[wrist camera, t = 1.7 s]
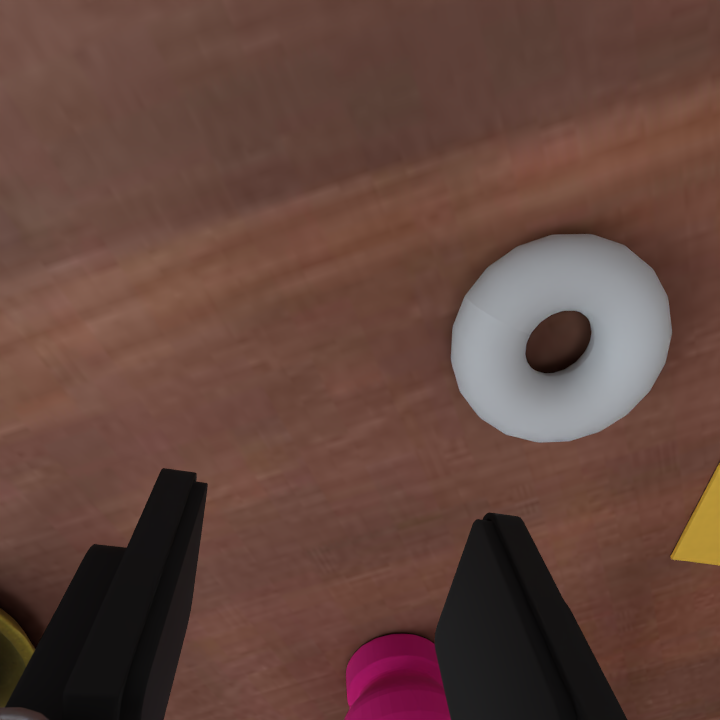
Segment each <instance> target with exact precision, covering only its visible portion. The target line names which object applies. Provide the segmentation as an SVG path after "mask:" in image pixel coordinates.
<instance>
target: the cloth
mask: <svg viewBox="0 0 720 720" xmlns="http://www.w3.org/2000/svg"><path fill="white" fill-rule="evenodd" d="M670 557H671V559H674V560H682V561H690V562H698V563H705V564H713V565H720V463H719V465H718V467H717V468H716V470H715V472H714V474H713V476H712V478H711V480H710V482H709V484H708V486H707V488H706V490H705V491H704V493H703V495H702V497H701V499H700V501H699V503H698V505H697V507H696V509H695V511H694V512H693V514H692V516H691V518H690V520H689V522H688V524H687V526H686V528H685V530H684V532H683V534H682V535H681V537H680V539H679V541H678V543H677V545H676V547H675V549H674V551H673V553H672V555H671V556H670Z"/></svg>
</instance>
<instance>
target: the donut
mask: <svg viewBox="0 0 720 720" xmlns="http://www.w3.org/2000/svg"><path fill="white" fill-rule="evenodd" d="M561 311H578V312H581V313H582V314H583V315H585V316H586V317H587V318H588V320H589V321H590V326H591V331H592V333H591V339H590V342H589V344H588V346H587V348H586V350H585V352H584V353H583V354H582V356H581V357H580V358H579V359H578V360H577V361H576V362H575V363H573V364H572V365H570V366H569V367H567V368H566V369H564V370H561V371H558V372H555V373H542V372H538V371H535V370H534V369H532V368H531V367H530V365H529V364H528V363H527V360H526V355H525V352H526V344H527V341H528V339H529V337H530V334H531V333H532V331H533V330H534V329H535V328H536V327H537V326H538V324H539V323H540V322H541V321H543V320H544V319H546V318H547V317H549V316H550V315H552V314H555V313H558V312H561ZM671 335H672V327H671V318H670V310H669V301H668V296H667V294H666V292H665V291H664V289H663V287H662V285H661V283H660V281H659V279H658V277H657V275H656V273H655V272H654V270H653V269H652V268H651V267H650V266H649V265H648V264H646V263H645V262H644V261H643V260H642V259H640V258H639V257H638V256H637V255H636V254H634V253H633V252H632V251H631V250H630V249H629V248H627V247H626V246H625V245H623V244H620V243H617V242H614V241H611V240H608V239H605V238H602V237H599V236H596V235H593V234H557V235H549V236H546V237H543V238H540V239H537V240H534V241H531V242H529V243H526V244H523V245H520V246H517V247H516V248H514V249H513V250H511V251H510V252H509V253H507V254H506V255H504V256H503V257H502V258H500V259H499V260H497V261H496V262H494V263H493V264H492V265H490V266H489V267H487V269H486V270H485V271H484V272H483V274H482V275H481V276H480V277H479V279H478V280H477V281H476V282H475V284H474V285H473V286H472V287H471V289H470V290H469V291H468V293H467V294H466V295H465V297H464V300H463V302H462V305H461V307H460V310H459V312H458V315H457V317H456V320H455V322H454V325H453V330H452V347H451V363H452V366H453V370H454V373H455V376H456V380H457V383H458V387H459V390H460V392H461V394H462V395H463V396H464V398H465V399H466V400H467V402H468V403H469V404H470V406H471V407H472V408H473V410H474V411H475V412H476V414H477V415H478V416H479V417H480V418H481V419H483V420H484V421H486V422H487V423H489V424H490V425H492V426H493V427H495V428H497V429H498V430H500V431H501V432H503V433H504V434H506V435H510V436H514V437H518V438H522V439H526V440H530V441H534V442H562V441H572V440H575V439H578V438H581V437H584V436H587V435H591V434H594V433H597V432H600V431H601V430H603V429H605V428H606V427H608V426H609V425H611V424H613V423H614V422H616V421H618V420H619V419H621V418H622V417H624V416H626V415H627V414H628V413H629V412H630V411H631V410H632V409H633V408H634V407H635V406H636V405H637V404H638V403H639V402H640V401H641V400H642V399H643V398H644V397H645V396H646V394H647V393H648V392H649V391H650V390H651V388H652V386H653V384H654V383H655V381H656V379H657V377H658V375H659V374H660V372H661V370H662V368H663V366H664V365H665V362H666V358H667V353H668V349H669V344H670V340H671Z"/></svg>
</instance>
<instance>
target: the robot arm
mask: <svg viewBox="0 0 720 720" xmlns="http://www.w3.org/2000/svg"><path fill="white" fill-rule="evenodd" d="M196 478H197V474H196V473H194V472H187V471H179V470H172V469H165V468H163V469H162V470H161V472H160V474H159V476H158V478H157V481H156V483H155V485H154V488H153V490H152V492H151V494H150V497H149V499H148V501H147V503H146V506H145V508H144V510H143V512H142V515H141V517H140V519H139V521H138V524H137V526H136V528H135V530H134V533H133V535H132V537H131V540H130V542H129V544H128V546H127V548H123V547H115V546H106V545H97V544H94V545H93V546H91V547H90V549H89V550H88V552H87V553H86V555H85V557H84V559H83V560H82V562H81V564H80V566H79V568H78V570H77V572H76V574H75V576H74V577H73V579H72V581H71V583H70V585H69V587H68V589H67V591H66V593H65V594H64V596H63V598H62V600H61V602H60V604H59V606H58V608H57V610H56V611H55V613H54V615H53V617H52V619H51V621H50V623H49V625H48V626H47V628H46V630H45V632H44V634H43V636H42V638H41V640H40V642H39V643H38V645H37V647H36V649H35V651H34V653H33V655H32V657H31V659H30V660H29V662H28V664H27V666H26V668H25V670H24V672H23V674H22V676H21V677H20V679H19V681H18V683H17V685H16V687H15V689H14V691H13V693H12V694H11V696H10V698H9V700H8V702H7V704H6V706H5V707H0V720H163V719H164V716H165V712H166V708H167V704H168V700H169V696H170V692H171V688H172V684H173V680H174V676H175V672H176V668H177V664H178V661H179V657H180V653H181V649H182V645H183V641H184V637H185V633H186V629H187V625H188V621H189V616H190V611H191V605H192V598H193V591H194V583H195V576H196V568H197V561H198V554H199V546H200V539H201V531H202V524H203V517H204V509H205V502H206V494H207V485H208V484H207V483H202V482H196ZM435 650H436V655H437V660H438V664H439V669H440V673H441V678H442V682H443V687H444V691H445V695H446V700H447V704H448V709H449V713H450V718H451V720H627V718H626V716H625V714H624V712H623V710H622V708H621V707H620V705H619V703H618V701H617V699H616V697H615V695H614V693H613V691H612V689H611V687H610V685H609V683H608V681H607V679H606V678H605V676H604V674H603V672H602V670H601V668H600V666H599V664H598V662H597V660H596V658H595V656H594V654H593V652H592V651H591V649H590V647H589V645H588V643H587V641H586V639H585V637H584V635H583V633H582V631H581V629H580V627H579V625H578V624H577V622H576V620H575V618H574V616H573V614H572V612H571V610H570V608H569V607H568V605H567V604H566V603H565V601H564V600H563V598H562V596H561V594H560V592H559V590H558V588H557V586H556V584H555V582H554V580H553V578H552V576H551V574H550V572H549V571H548V569H547V567H546V565H545V563H544V561H543V559H542V557H541V555H540V553H539V551H538V549H537V547H536V545H535V543H534V541H533V539H532V537H531V536H530V534H529V532H528V530H527V528H526V526H525V524H524V522H523V521H522V519H521V518H520V517H518V516H511V515H503V514H496V513H487V514H486V515H485V516H484V518H483V520H479V519H478V520H476V521H475V522H474V523H473V525H472V528H471V531H470V534H469V537H468V539H467V542H466V545H465V548H464V551H463V554H462V557H461V559H460V562H459V565H458V568H457V571H456V574H455V576H454V579H453V582H452V585H451V588H450V591H449V594H448V596H447V599H446V602H445V605H444V608H443V611H442V613H441V616H440V619H439V622H438V625H437V628H436V632H435Z"/></svg>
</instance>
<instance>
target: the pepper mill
mask: <svg viewBox="0 0 720 720" xmlns="http://www.w3.org/2000/svg"><path fill="white" fill-rule="evenodd" d="M346 685H347V700H348V704H349V707H350V709H349V711H348V713H347V715H346V717H345V719H344V720H451V718H450V713H449V709H448V704H447V700H446V695H445V691H444V687H443V682H442V678H441V673H440V669H439V664H438V660H437V655H436V650H435V644H434V643H432V642H431V641H429V640H428V639H426V638H423V637H420V636H417V635H413V634H390V635H386V636H382V637H378V638H375V639H374V640H372V641H370V642H368V643H366V644H364V645H363V646H361V647H360V648H359V649H358V650H357V651H356V652H355V653H354V654H353V656H352V658H351V659H350V661H349V663H348V666H347V669H346Z"/></svg>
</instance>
